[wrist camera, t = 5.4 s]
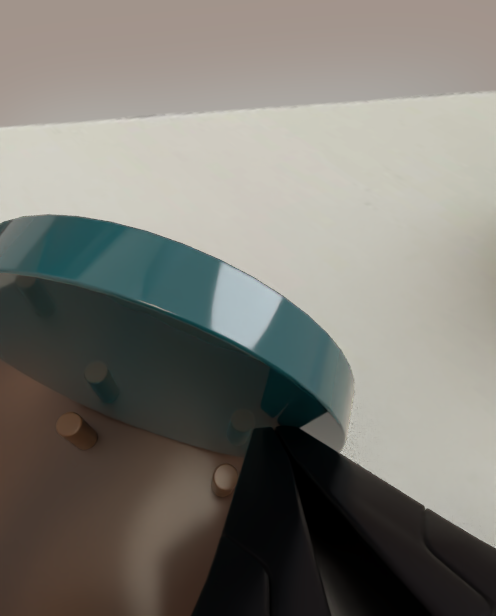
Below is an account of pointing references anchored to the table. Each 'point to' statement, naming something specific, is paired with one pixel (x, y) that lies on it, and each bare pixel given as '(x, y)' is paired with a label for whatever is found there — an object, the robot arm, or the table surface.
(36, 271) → the dish rack
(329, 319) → the table surface
